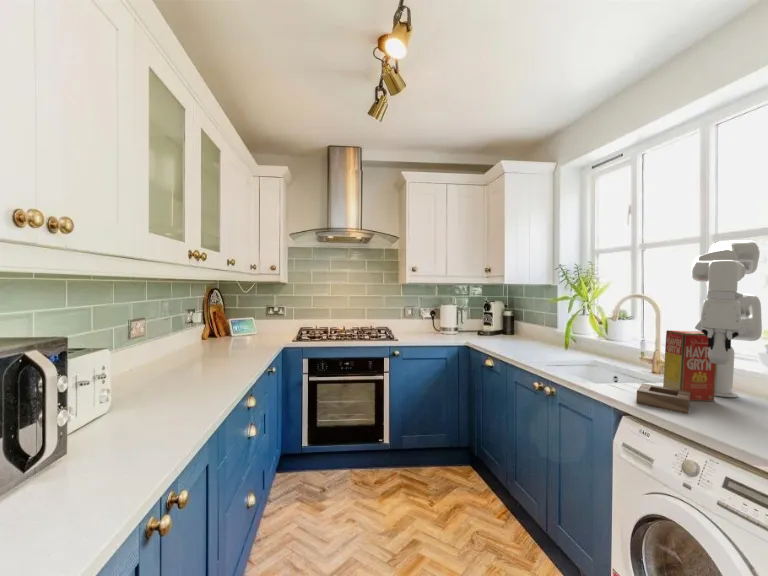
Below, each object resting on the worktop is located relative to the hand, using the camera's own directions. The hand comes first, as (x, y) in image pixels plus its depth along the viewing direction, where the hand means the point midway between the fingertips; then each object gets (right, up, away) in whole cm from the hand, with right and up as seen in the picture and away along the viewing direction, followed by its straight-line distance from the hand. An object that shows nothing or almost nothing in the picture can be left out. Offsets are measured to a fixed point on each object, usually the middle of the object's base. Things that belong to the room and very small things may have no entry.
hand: (719, 349), depth 126 cm
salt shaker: (0, -5, 0) cm, 5 cm away
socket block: (-16, -20, +5) cm, 26 cm away
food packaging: (+1, -21, +14) cm, 25 cm away
